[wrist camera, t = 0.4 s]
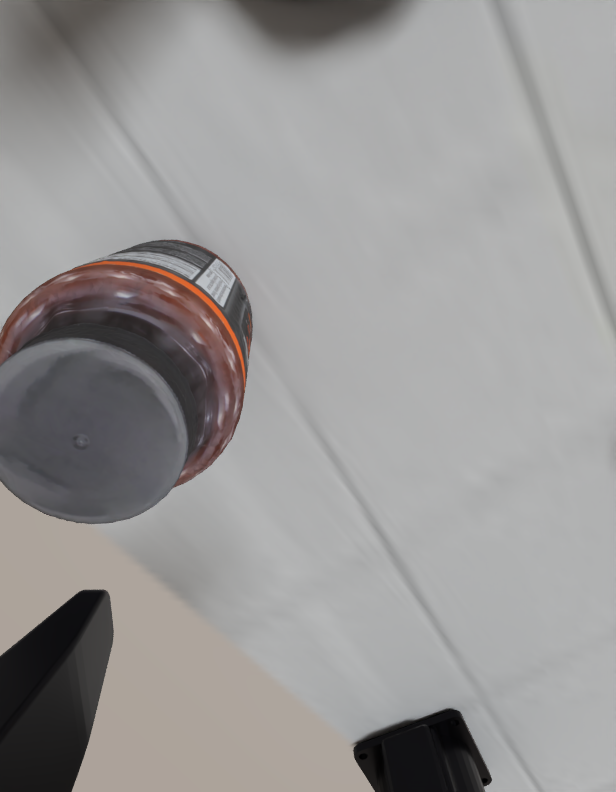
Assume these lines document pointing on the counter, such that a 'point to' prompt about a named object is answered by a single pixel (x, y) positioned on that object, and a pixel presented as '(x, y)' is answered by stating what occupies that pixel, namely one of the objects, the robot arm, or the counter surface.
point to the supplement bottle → (122, 380)
